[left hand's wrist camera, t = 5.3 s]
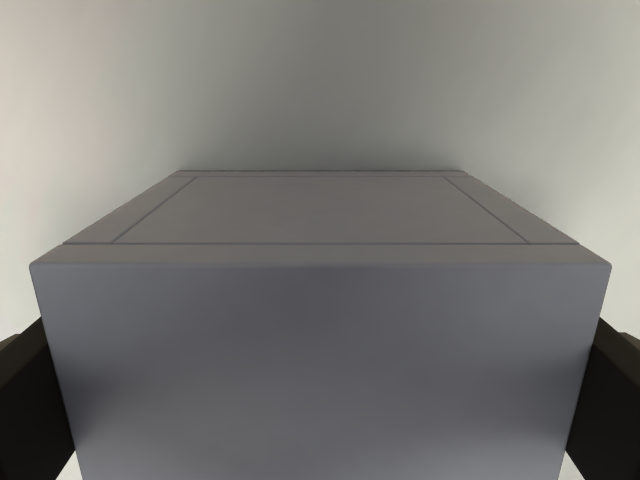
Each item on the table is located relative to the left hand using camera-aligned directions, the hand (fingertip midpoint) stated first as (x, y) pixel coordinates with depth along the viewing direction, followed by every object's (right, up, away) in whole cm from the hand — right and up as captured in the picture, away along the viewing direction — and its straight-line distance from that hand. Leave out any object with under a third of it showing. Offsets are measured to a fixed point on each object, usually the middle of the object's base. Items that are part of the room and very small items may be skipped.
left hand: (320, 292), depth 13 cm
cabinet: (0, -6, +6) cm, 9 cm away
